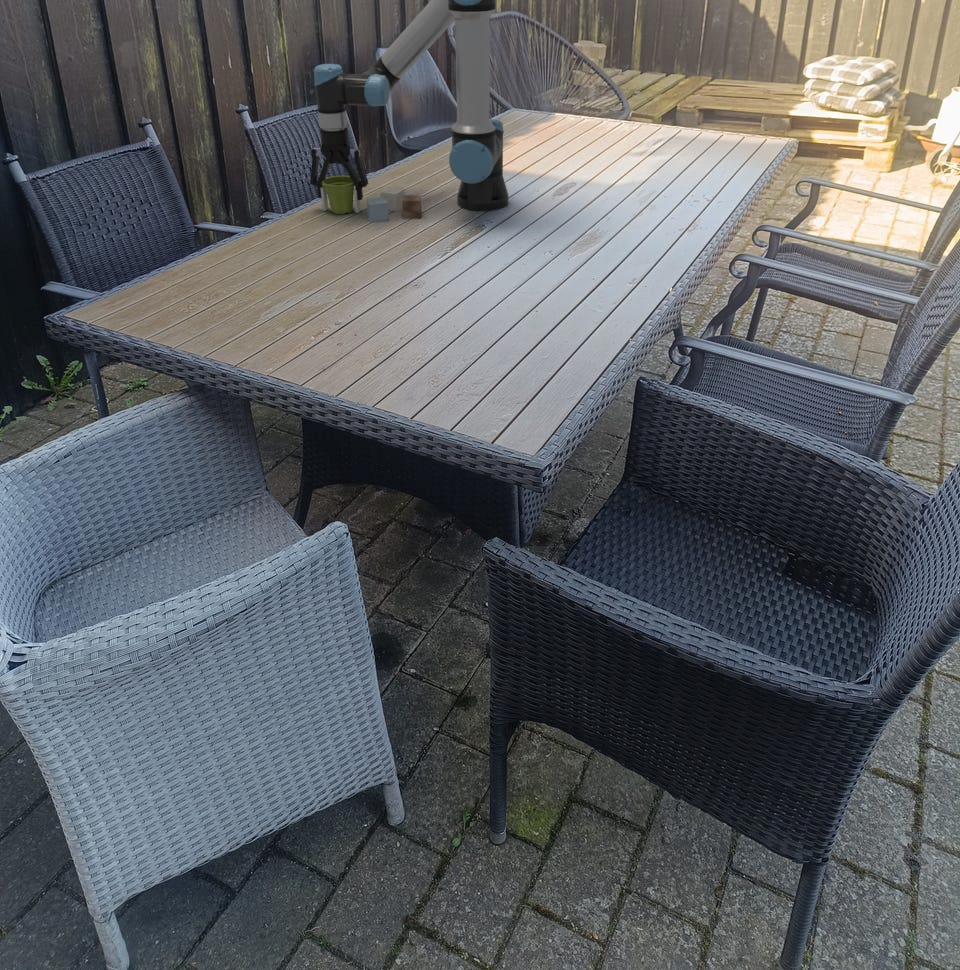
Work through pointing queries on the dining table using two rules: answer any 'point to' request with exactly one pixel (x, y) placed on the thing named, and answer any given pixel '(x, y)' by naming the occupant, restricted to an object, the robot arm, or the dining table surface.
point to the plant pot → (340, 193)
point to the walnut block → (411, 206)
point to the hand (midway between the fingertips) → (341, 210)
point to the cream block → (393, 198)
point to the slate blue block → (377, 210)
